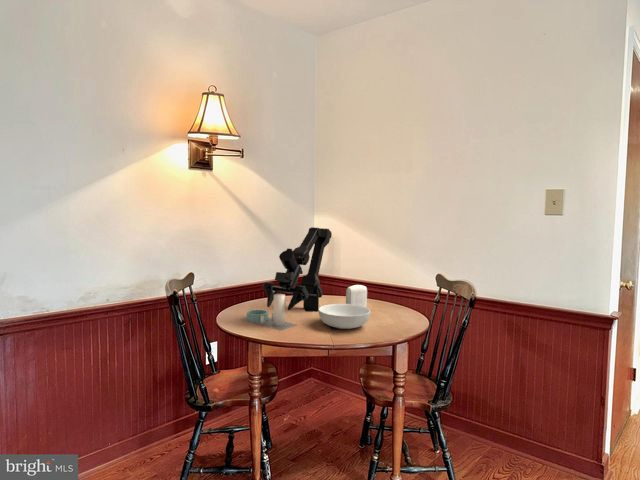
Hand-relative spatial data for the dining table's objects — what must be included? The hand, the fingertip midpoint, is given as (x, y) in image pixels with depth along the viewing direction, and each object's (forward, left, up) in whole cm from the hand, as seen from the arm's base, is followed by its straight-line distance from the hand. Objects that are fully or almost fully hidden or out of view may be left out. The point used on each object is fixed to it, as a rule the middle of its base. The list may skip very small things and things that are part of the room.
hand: (278, 308), depth 174 cm
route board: (+4, -5, -7) cm, 10 cm away
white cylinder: (0, -1, -7) cm, 7 cm away
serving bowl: (-26, -2, -8) cm, 28 cm away
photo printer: (-34, -24, -8) cm, 43 cm away
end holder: (+9, -9, -7) cm, 14 cm away
